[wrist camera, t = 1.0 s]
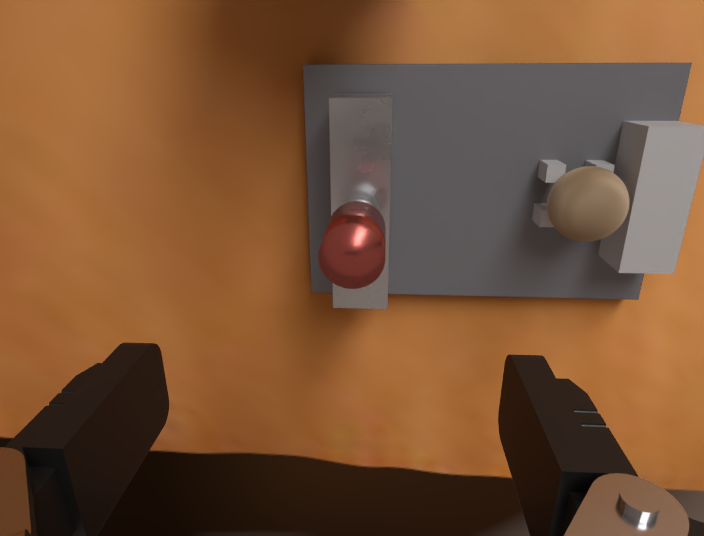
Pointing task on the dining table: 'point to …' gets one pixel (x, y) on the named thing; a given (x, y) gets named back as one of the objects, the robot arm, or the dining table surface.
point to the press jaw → (359, 200)
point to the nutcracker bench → (515, 172)
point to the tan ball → (588, 203)
